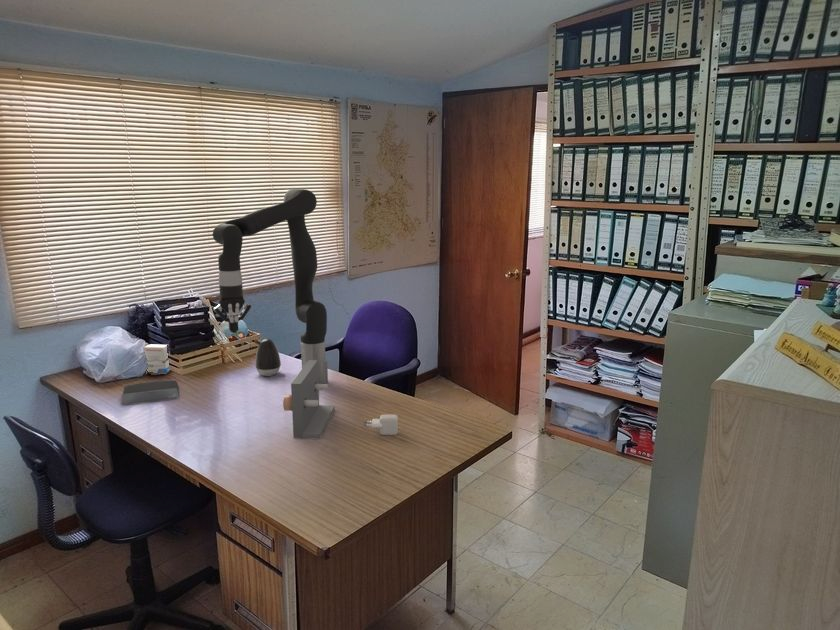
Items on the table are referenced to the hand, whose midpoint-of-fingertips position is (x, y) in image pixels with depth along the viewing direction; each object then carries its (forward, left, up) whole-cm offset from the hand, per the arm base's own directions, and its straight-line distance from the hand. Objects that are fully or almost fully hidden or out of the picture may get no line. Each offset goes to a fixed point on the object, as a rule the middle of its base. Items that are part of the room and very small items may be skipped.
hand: (234, 332), depth 208 cm
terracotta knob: (-11, +33, -20) cm, 40 cm away
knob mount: (-17, +29, -27) cm, 43 cm away
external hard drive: (+25, -27, -28) cm, 46 cm away
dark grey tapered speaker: (-20, -28, -27) cm, 44 cm away
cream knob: (-20, +21, -20) cm, 35 cm away
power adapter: (-32, +47, -27) cm, 63 cm away
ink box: (+18, -53, -27) cm, 62 cm away
